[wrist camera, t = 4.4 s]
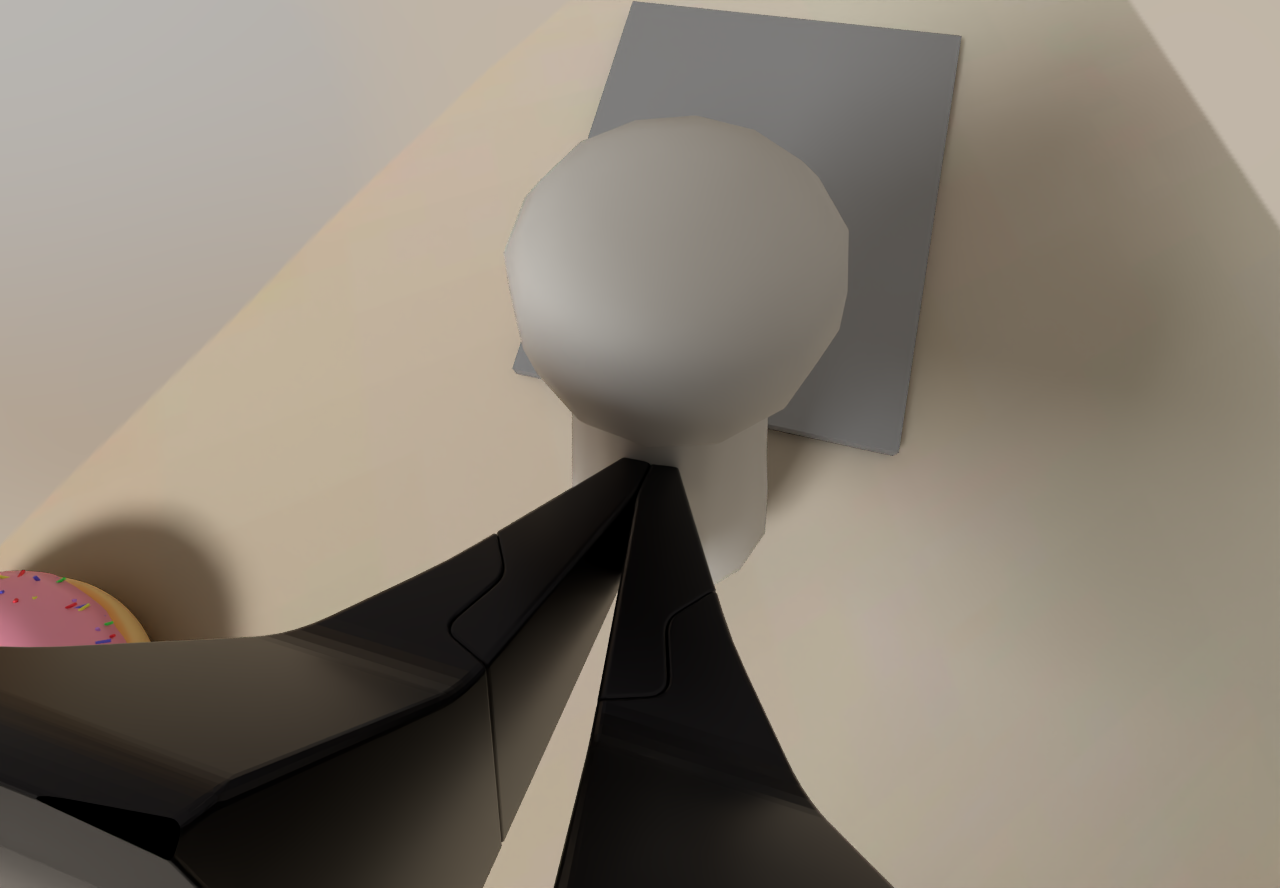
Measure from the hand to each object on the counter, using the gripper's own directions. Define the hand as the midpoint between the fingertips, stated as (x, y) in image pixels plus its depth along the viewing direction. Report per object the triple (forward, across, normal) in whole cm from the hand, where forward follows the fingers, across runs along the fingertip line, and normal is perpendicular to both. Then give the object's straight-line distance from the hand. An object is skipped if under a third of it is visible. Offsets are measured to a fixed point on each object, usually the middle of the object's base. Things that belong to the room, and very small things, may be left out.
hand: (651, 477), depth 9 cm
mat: (+16, 0, -3) cm, 16 cm away
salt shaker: (+6, 0, +6) cm, 9 cm away
